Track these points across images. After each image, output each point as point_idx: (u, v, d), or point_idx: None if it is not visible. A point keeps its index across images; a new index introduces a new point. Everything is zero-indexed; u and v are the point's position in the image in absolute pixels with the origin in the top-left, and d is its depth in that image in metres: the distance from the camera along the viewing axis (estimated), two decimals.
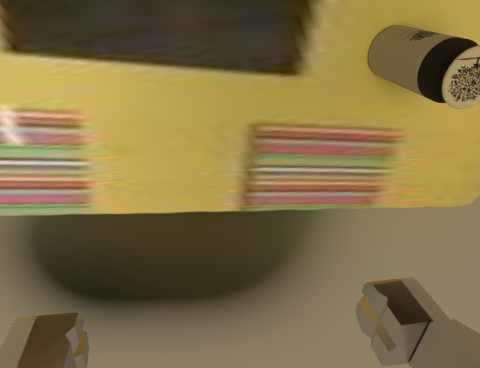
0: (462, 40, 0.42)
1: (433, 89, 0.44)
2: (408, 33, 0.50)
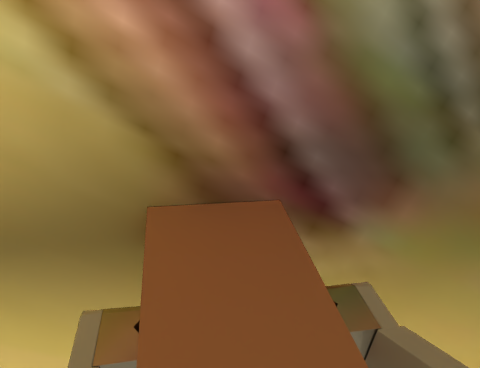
0: None
1: None
2: None
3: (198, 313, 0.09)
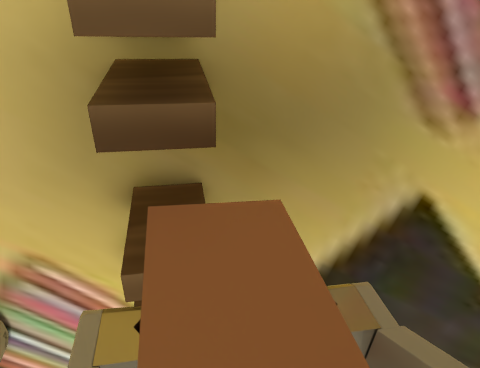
0: None
1: None
2: None
3: (198, 312, 0.09)
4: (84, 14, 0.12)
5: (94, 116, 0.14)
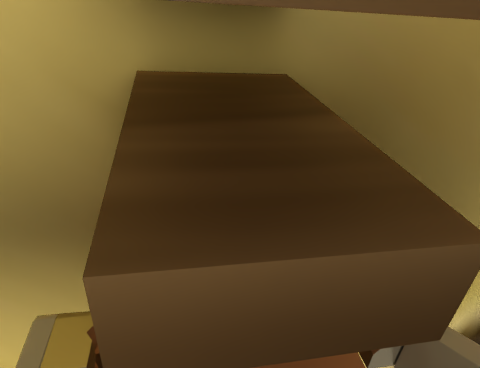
0: None
1: None
2: None
3: None
4: None
5: (107, 305, 0.04)
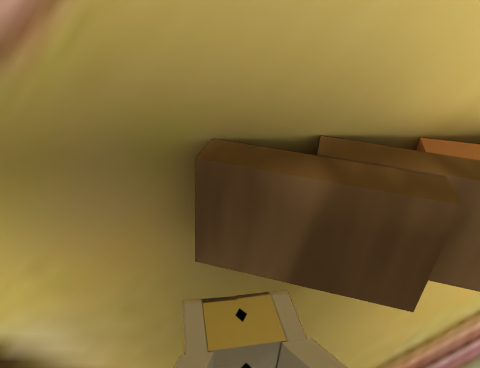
0: None
1: None
2: None
3: None
4: None
5: None
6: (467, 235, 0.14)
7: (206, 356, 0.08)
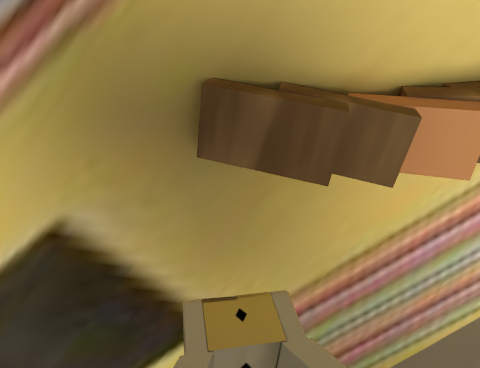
0: None
1: None
2: None
3: None
4: None
5: None
6: (364, 143, 0.23)
7: (206, 356, 0.08)
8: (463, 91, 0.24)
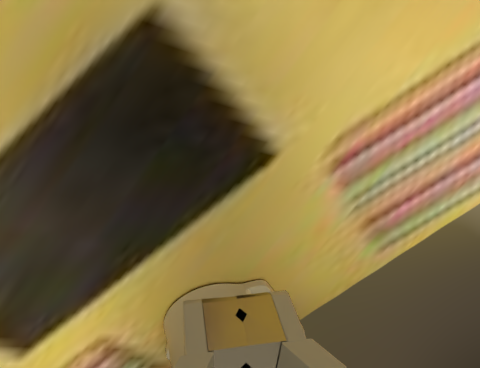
0: None
1: None
2: None
3: None
4: None
5: None
6: None
7: (206, 356, 0.08)
8: None
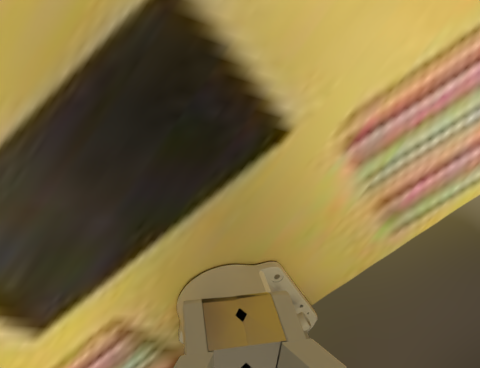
0: None
1: None
2: None
3: None
4: None
5: None
6: None
7: (206, 356, 0.08)
8: None
